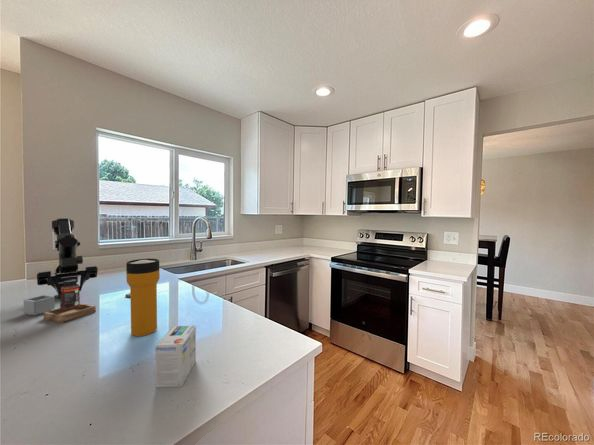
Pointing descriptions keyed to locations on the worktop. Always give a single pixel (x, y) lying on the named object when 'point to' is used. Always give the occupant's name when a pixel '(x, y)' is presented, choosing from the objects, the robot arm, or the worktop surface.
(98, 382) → the worktop surface
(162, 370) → the light bulb box
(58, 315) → the tray
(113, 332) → the worktop surface
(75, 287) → the supplement bottle
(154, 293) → the flashlight
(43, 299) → the grey open square bin
